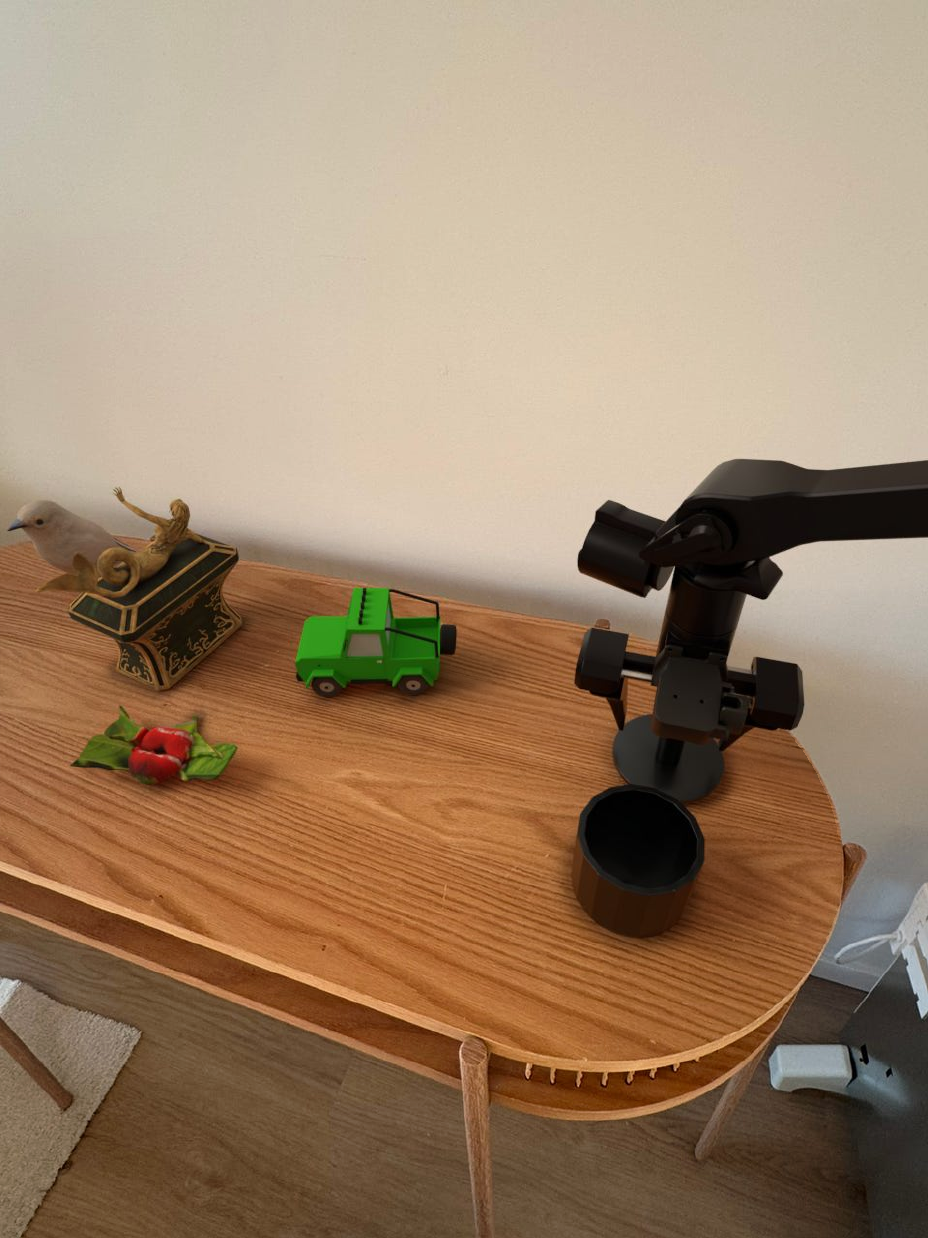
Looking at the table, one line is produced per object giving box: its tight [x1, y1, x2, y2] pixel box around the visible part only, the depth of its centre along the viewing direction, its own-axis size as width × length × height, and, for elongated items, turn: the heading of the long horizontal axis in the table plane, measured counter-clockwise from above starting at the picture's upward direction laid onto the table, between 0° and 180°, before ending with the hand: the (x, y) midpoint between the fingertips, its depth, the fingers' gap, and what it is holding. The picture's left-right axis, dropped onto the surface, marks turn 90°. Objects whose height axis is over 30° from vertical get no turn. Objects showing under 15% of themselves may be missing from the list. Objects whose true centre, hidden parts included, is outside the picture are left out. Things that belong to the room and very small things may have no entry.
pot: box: [570, 784, 706, 939], centre depth 60 cm, size 10×10×7 cm
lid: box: [611, 713, 726, 805], centre depth 70 cm, size 11×11×5 cm
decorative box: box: [35, 486, 243, 692], centre depth 78 cm, size 20×10×20 cm, turn 151°
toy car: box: [294, 587, 458, 698], centre depth 79 cm, size 8×17×10 cm, turn 90°
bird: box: [6, 499, 138, 579], centre depth 89 cm, size 5×14×15 cm, turn 145°
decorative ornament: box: [70, 705, 238, 787], centre depth 72 cm, size 15×5×10 cm
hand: (670, 737), depth 69 cm, fingers open, 9 cm apart
